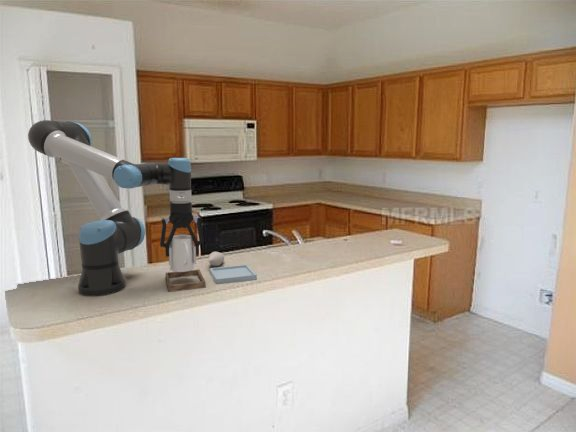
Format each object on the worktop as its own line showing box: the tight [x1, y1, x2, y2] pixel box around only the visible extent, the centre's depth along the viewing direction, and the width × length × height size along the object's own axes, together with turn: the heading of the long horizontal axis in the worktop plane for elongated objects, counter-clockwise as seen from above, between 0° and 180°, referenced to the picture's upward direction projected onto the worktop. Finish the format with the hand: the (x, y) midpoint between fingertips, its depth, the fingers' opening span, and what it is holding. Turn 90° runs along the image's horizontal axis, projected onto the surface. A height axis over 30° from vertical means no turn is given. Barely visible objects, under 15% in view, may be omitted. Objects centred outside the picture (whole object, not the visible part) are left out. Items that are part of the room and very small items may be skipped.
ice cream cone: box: [207, 251, 225, 267], centre depth 175 cm, size 6×6×15 cm
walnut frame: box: [165, 268, 207, 293], centre depth 155 cm, size 13×17×2 cm
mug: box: [169, 234, 195, 272], centre depth 154 cm, size 12×8×12 cm
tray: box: [209, 264, 258, 285], centre depth 162 cm, size 15×15×2 cm
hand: (182, 263), depth 154 cm, fingers closed on mug, 8 cm apart
